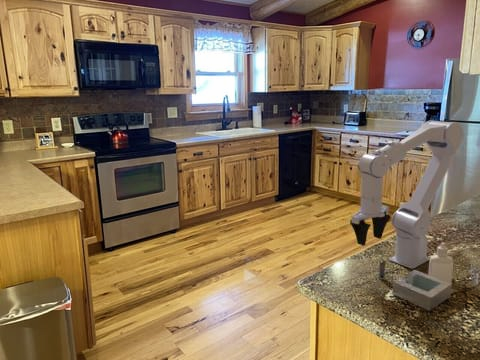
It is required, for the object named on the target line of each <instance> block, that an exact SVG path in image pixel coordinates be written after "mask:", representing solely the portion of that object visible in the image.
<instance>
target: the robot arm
mask: <svg viewBox="0 0 480 360" xmlns="http://www.w3.org/2000/svg"><path fill="white" fill-rule="evenodd" d="M464 138H465V133H464V129H463V126H462V125H461V123H460V122H457V121H451V122H448V121H439V120H438V121H437V120H432V119H430V120H428V121H426V122H424V123H422V124H421V125H420V128H418V129H417V130H415V131H413V132H412V133H411V134H409V135H408V136H407V137H405V138H403V139H402V140H400V141H396V140H390V141H387V142H386V143H387V144H386V145H384V146H383V147H381V148H379V149H375V150H373V152H372V153H365V154H363V156H361V157H360V159H359V161H358V163H357V164H356V166H357V167H356V168H357V170H358V171H359V173H360V175H359V176H360V178H361V181H360V184H361V185H360V209H359V210H358V211H357V212H356V213H355V214H353V215H351V219H350V220H349V222H350V223H349V224H350V226H351V227H352V229H353V232H354V233H355V234H354V235H355V238H356V242H357V244H358V245H360V246H363V247H364V246H366V242H367V237H368V232H369V229H370V228H371V224H370V223H366V220H370V219H371V221H372V230H373V231H372V232H373V237H374V238H377V239H382V238H383V237H382V236H383V234H384V232H385V228H386V226H387V225H388V222H389V221H391V225H392V226H393V228H394V232H396V237H395V252H394V253H395V254H394V255H393V256H392V257H389V259H388V260H389V261H390V262H393V263H395V264H398V265H401V266H403V267H407V268H409V269H411V270H412V269H413V270H414V269H416V268H417V267H419V266H421V265H423V264H425V263H426V262H427V261H430V257H427V254H428V253H427V252H428V238H427V234H428V232H429V230H430V225H431V222H432V219H433V216H432V214H431V212H430V210H429V208H430V205H431V204H432V201H433V199H434V197H435V196H436V194H437V192H438V190H439V188H440V186H441V185H442V182H443V180H444V178H445V176H446V175H447V172H448V170H449V168H450V166H451V164H452V163H453V160H454V159H455V156H456V153H457V151H458V150H459V148H460V145H461V143H462V142H463V140H464ZM423 144H426V145H427V147H428V148H429V150H430V151H431V152H432V157H431V158H430V161H429V163H428V164H427V165H426V168H425V170H424V171H423V174H422V176H421V178H420V180H419V182H418V184H417V186H416V188H415V190H414V191H413V194H412V196H411V198H410V199H409V200H408V201H406V202H403V203H402V204H400V206H399V207H398V209H397V210H395V212H394V213H393V214H392V216H391V214H388V213H389V211H390V207H389V206H388V205H384V204H383V189H384V188H383V186H384V185H383V184H384V176H385V175H386V174H387V172H388V171H389V169H390V168H392V166H393V165H396V164H397V163H399V162H401V161H402V160H403V159H405V158H406V157H407V153H408V152H410V151H412V150H413V149H416V148H418V147H420V146H421V145H422V146H423ZM390 219H391V220H390Z"/></svg>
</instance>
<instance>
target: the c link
mask: <svg viewBox="0 0 480 360" xmlns="http://www.w3.org/2000/svg"><path fill="white" fill-rule="evenodd" d="M405 276H406V278H405V277H402V276H401V277H398V278H397V279H395V280H393V281H392V290H391V291H392V295H395V297H398V296H399V297H398V298H400V297H401V299H402V298H403V300H404V299H405V301H406V300H408V301H407V302H409V301H410V302H409V303H411V302H412V303H411V304H413V303H414V304H413V305H415V304H416V306H417V305H419V306H418V307H420V306H421V307H420V308H422V307H423V309H424V308H425V309H424V310H426V309H427V310H426V311H428V310H429V311H431V310H433V309H435V308H436V307H437V306H439V305H441V304H442V303H443V302H444V301H446V300H448V299H449V298H450V297H451V296H452V287H453V283H448V282H445V281H443V280H440V279H438V278H435V277H432V276H430V275H428V273H424V272H422V271H419V270H416V269H413V270H411V271H410V272H408V273H406V275H405ZM415 286H417V287H420V288H422V289H425V290H427V291H428V292H426V291H424V290H422V289H419V288H417V287H415Z"/></svg>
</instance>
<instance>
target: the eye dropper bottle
mask: <svg viewBox="0 0 480 360" xmlns="http://www.w3.org/2000/svg"><path fill="white" fill-rule="evenodd" d="M428 261H429V262H428V263H429V264H428V272H427V275H430V276H432V277H435V278H438V279H440V280H443V281H445V282H448V283H451V284H453V283H452V281H453V273H454V272H453V270H454V260H453V258H452V257H451V256H449V255H448V247H446V244H445V242H441V243H440V246H437V251H436V254H433V255H431V256H430V257H429V260H428Z"/></svg>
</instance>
